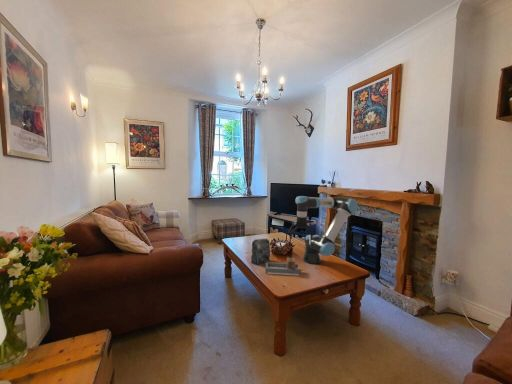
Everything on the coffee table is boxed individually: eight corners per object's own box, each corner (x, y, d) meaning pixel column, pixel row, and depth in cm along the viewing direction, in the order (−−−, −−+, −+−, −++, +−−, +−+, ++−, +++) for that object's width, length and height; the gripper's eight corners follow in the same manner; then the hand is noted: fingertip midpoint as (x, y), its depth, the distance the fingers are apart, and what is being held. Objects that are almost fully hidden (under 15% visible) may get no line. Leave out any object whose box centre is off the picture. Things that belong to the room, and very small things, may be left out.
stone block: (255, 265, 185) (255, 242, 183) (249, 262, 192) (249, 239, 191) (272, 261, 195) (273, 238, 193) (266, 257, 203) (267, 236, 201)
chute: (297, 268, 182) (297, 263, 181) (299, 275, 169) (299, 270, 169) (265, 266, 184) (266, 261, 183) (265, 273, 171) (265, 268, 171)
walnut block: (294, 267, 180) (294, 257, 179) (294, 272, 172) (295, 261, 171) (286, 267, 180) (286, 257, 179) (287, 271, 172) (287, 261, 171)
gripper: (317, 216, 174) (316, 242, 176) (285, 214, 177) (284, 241, 179) (319, 218, 167) (318, 245, 169) (285, 216, 169) (284, 244, 171)
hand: (300, 243), depth 174 cm, fingers open, 13 cm apart
